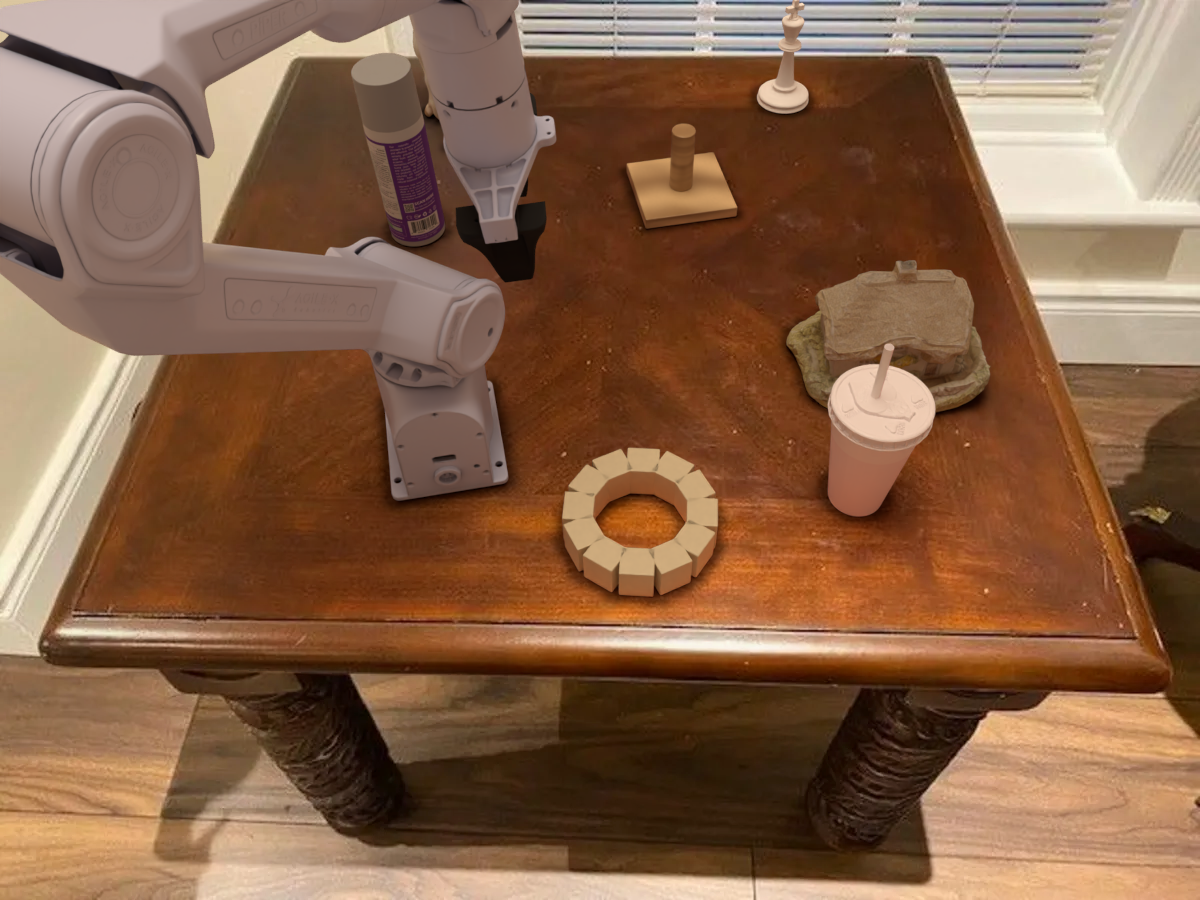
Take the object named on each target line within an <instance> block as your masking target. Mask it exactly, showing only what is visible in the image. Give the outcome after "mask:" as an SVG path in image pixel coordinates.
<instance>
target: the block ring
mask: <svg viewBox="0 0 1200 900" xmlns="http://www.w3.org/2000/svg"><path fill="white" fill-rule="evenodd" d="M626 452H627V453H626V454H625V453H624V451H623V449H622V448H618V449H616V450H614V451H611V452H609V453H606V454H604V455H601V456H598V457H595V458H594V459H592V460H591V465H589V464H585V465H584V466H583V467H582V469H580V471H579V472H578V473H577V475H575V477H574V478H573V479H572V480H571V481H570V483H569V484H568V485H567V489H568V490H567V491H566V490H565V491H564V498H563V505H562V514H561V525H562V536H563V537H562V538H563V541H564V548H565V549H566V552H567V553H568V554H569V557H570V559H571V560H572V562H573V564H574V566H575V568H576V569H577V571H578V572H583V577H584V578H585V579H587V580H589V581H590V582H592V583H594V584H596V585H598V586H600V587H601V588H603V589H604V590H606V591H608V592H610V593H613V592H614V590H615V589H616V588H617V587H618V595H619V596H631V597H632V596H634V597H654V591H655V589H656V590H657V592H658V594H659V595H660V596H662V595H664V594H668V593H669V592H672V591H674V590H676V589H679V588H681V587H683V586H685V585H688V584H690V583H691V579H692V577H694V578H697V577H698V576H699V574H700V573H701V572H702V570H703V569H704V568H705V566H706V564H708V562H709V561H710V559H711V558H712V557H713V555H714V549H716V543H717V537H718V530H719V529H718V528H719V499H718V498H716V491H715V490H714V488H713V486H712V485H711V483H710V482H709V481H708V479H707V477H706V476H705V475H704V474H703V472H702V471H701V469H697V470H695V464H694V463H692V462H690V461H688V460H687V459H684V458H682V457H680V456H678V455H677V454H674V453H672V452H670V451H669V450H666V451H665V453H663V455H661V449H660V448H646V447H628V448H627V451H626ZM630 494H635V495H636V494H638V495H654V496H655V497H657V498H659V499H660V500H663V501H665V502H667V503H669V504H671V505H673V506H674V508H675V509H676V510H677V513H678V514H679V516H680V517H681V519H682V520H683V521H684V525H683V526H682V527H681V528H680V530H679V531H678V532H677V534H676V535H675V536H674V538H672V539H670V540H668V541H666V542H663V543H661V544H658V545H656V546H654V547H651V548H649V547H648V548H647V547H629V546H627V547H625V546H624V545H622V544H620V543H618V542H617V541H615V540H613V539H611V538H609V537H608V536H606V535H605V534H604V532H603V531H602V529H601V528H600V526H599V523H597V518H598V516H599V515H600V513H601V512H602V511H603V510H604V508H606V506H607V505H608V504H609V503H610V502H613V501H615V500H618V499H620V498H623V497H626V496H627V495H630Z"/></svg>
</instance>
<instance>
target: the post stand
mask: <svg viewBox="0 0 1200 900" xmlns="http://www.w3.org/2000/svg"><path fill="white" fill-rule="evenodd" d="M696 135H697V130H696V128H695V126H693V125H692V124H689V123H678V124H675V125H674V126H673V127H672V128H671V137H670V138H671V139H670V140H671V141H670V157H666V158H657V159H650V160H644V161H636V162H635V161H634V162H627V163H626V175H627V178H628V180H629V183H630V186H631V190H632V192H633V196H634V198H635V202H636V204H637V207H638V210H639V212H640V216H641V219H642V221H643V225H644V229H646V230H647V229H655V228H661V227H668V226H669V227H670V226H676V225H683V224H684V225H685V224H691V223H697V222H706V221H713V220H719V219H726V218H734V217H737V215H738V214H737V213H738V206H737V203H736V201H735V199H734V197H733V194H732V191H731V190H730V187H729V185H728V183H727V181H726V177H725V175H724V173H723V170H722V169H721V166H720V164H719V162H718V159H717V157H716V154H715V152H713V151H712V152H704V153H696V154H695V152H696Z"/></svg>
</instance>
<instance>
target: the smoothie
mask: <svg viewBox="0 0 1200 900" xmlns="http://www.w3.org/2000/svg"><path fill="white" fill-rule="evenodd" d="M893 351H894V346H893V345H892V344H886V345H885V346H884V350H883V353H882V357H881V360H880V364H869V365H862V366H858V367H855V368H852V369H850V370H848V371H846V372H845V373H843V374H842V375H841V376H840V377H839V378H838V379H837V380H836V382H835V383H834V385H833V387H832V391H831V394H830V396H829V400H828V408H827V412H828V416H829V418H830V421H831V422H830V443H829V444H830V445H829V459H828V460H829V461H828V476H827V477H828V479H827V496H828V499H829V502H830V503H831V504H832V506H833V507H834V508H835V509H837V510H838V511H839V512H841V513H842V514H845V515H848V516H851V517H867V516H870V515H872V514H874V513H875V512H877V511H878V510H879V508H880V507H881V506H882V504H883V502H884V500H885V499H886V497H887V495H888V493H889V492H890V490H891V489H892V487H893V485H894V484H895V482H896V480H897V478H898V476H900V473H901V471H902V469H903V468H904V466H905V465H906V463H907V461H908V459H909V458H910V457H911V454H912V453H913V451H914V450H915V448H916V446H917V445H919V444H920V443H922V441H923V440H925V439H926V438H927V437H928V435H929V434H930V432H931V430H932V428H933V424H934V419H935V416H936V412H935V402H934V399H933V396H932V394H931V392H930V391H929V389H928V388H927V387H926V385H925V384H924V383H923V382H922V381H921V380H919V379H918V378H917V377H915V376H914V375H912V374H911V373H909V372H907V371H905V370H902V369H900V368H897V367H893V366H889V364H890V361H891V357H892V354H893Z"/></svg>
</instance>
